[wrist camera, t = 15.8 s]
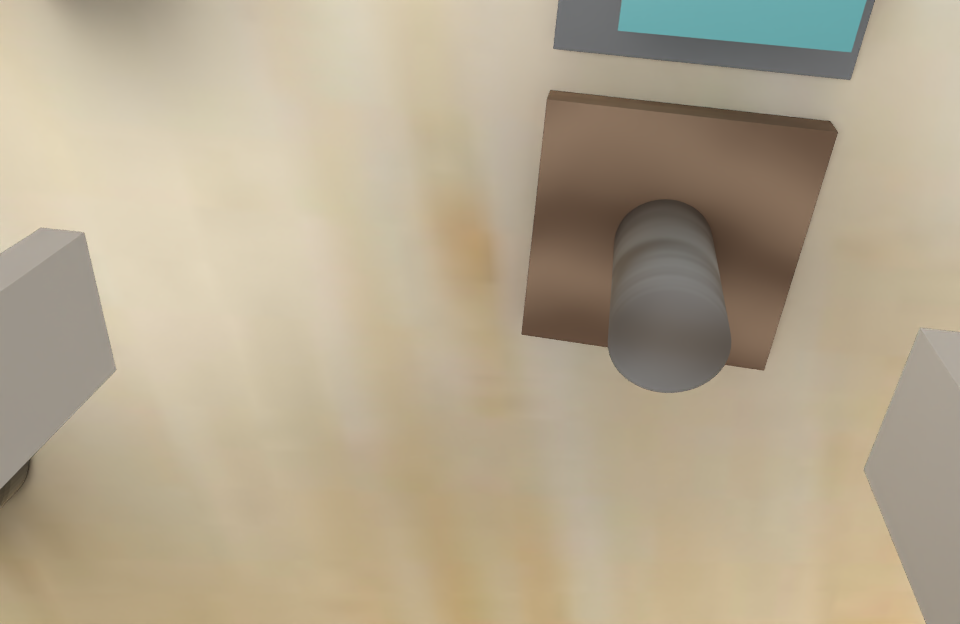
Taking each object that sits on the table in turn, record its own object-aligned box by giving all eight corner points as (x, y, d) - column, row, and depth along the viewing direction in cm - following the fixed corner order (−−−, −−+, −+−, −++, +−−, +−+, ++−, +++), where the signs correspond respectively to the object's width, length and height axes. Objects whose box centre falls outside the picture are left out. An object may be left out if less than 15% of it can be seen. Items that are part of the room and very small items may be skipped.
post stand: (759, 353, 39) (792, 492, 31) (525, 319, 41) (494, 442, 32) (830, 121, 33) (895, 214, 25) (550, 90, 34) (521, 168, 26)
